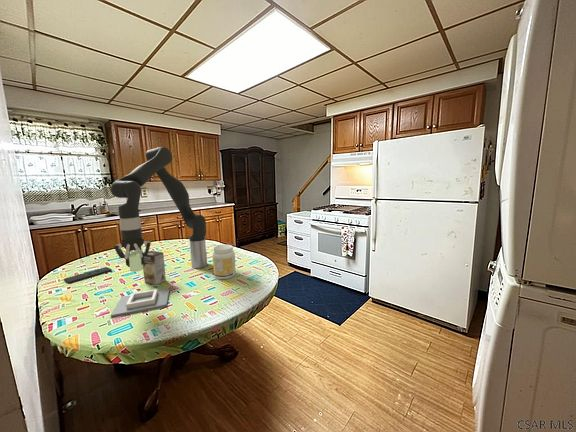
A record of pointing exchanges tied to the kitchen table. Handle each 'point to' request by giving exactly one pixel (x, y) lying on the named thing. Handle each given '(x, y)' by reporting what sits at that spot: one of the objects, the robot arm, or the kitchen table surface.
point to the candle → (135, 262)
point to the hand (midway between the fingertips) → (135, 265)
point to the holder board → (141, 302)
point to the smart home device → (87, 275)
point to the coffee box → (154, 267)
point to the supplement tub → (224, 262)
